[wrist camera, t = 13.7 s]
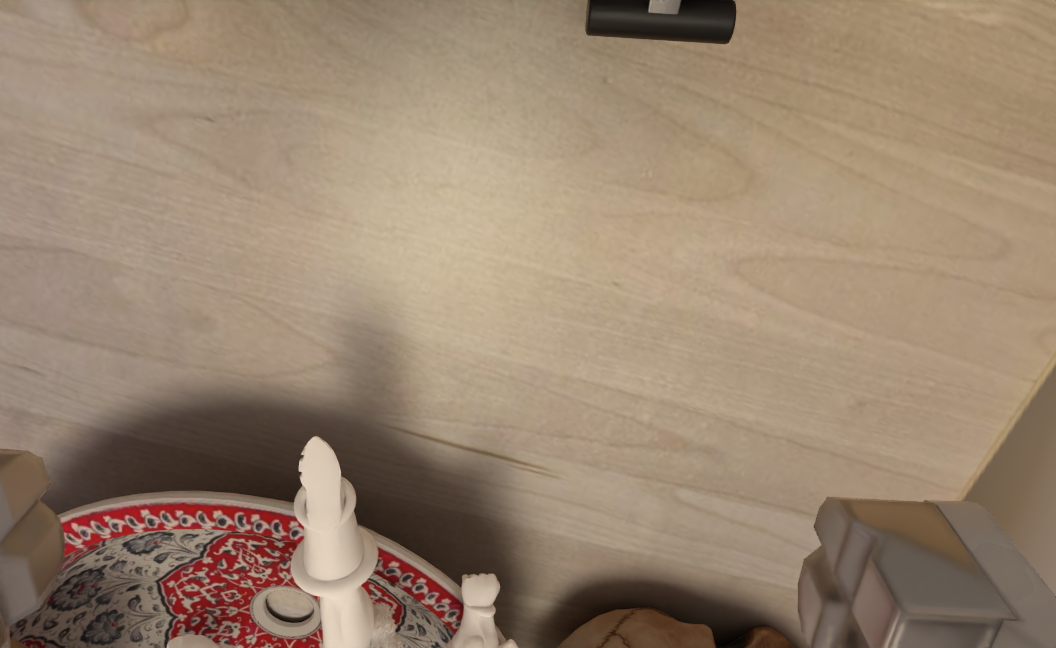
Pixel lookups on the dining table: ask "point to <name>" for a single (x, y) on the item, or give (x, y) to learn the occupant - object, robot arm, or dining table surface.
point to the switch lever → (663, 19)
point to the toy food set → (16, 644)
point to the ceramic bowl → (212, 578)
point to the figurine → (356, 569)
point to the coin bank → (660, 633)
